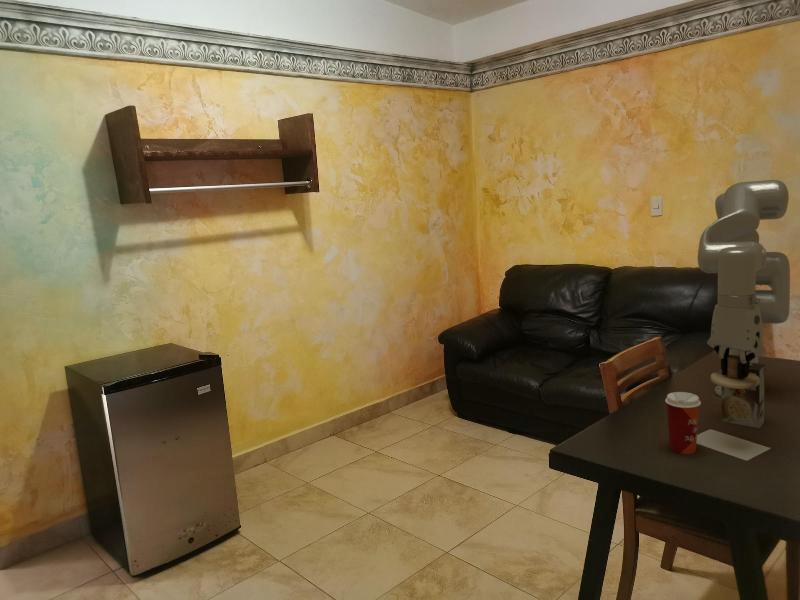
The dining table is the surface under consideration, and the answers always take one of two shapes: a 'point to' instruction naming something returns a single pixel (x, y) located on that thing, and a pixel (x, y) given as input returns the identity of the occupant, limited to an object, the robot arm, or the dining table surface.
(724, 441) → the mat
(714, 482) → the dining table surface
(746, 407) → the coffee box
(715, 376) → the lid
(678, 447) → the paper cup
